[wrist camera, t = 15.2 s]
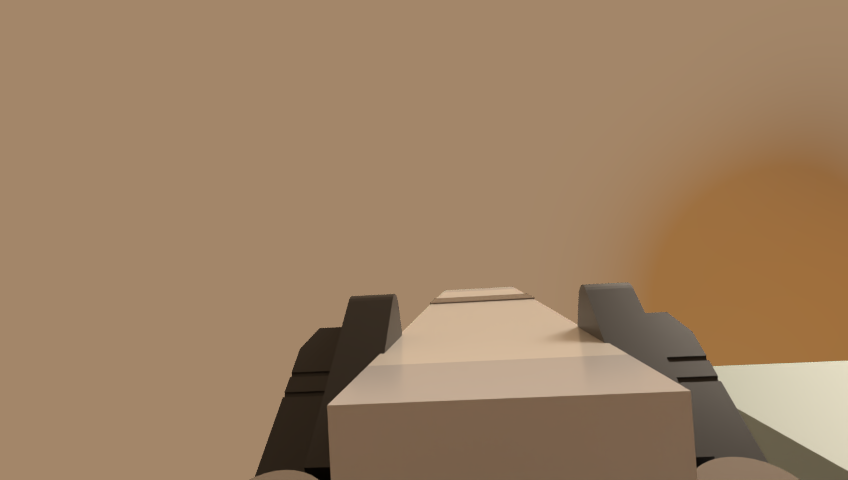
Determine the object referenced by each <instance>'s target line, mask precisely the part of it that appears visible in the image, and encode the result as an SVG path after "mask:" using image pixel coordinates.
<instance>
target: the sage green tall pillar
mask: <svg viewBox="0 0 848 480" xmlns="http://www.w3.org/2000/svg"><path fill="white" fill-rule="evenodd" d="M713 368H714V370H715V372H716V373H717V375H718V381H721V382H722V384H723V385H724V387H725V389H726V391H727V392H728V394H729V396H730V398H731V399H732V401H733V403H734V404H735V406H736V408H737V410H738V411H739V413H740V415H741V416H742V418H743V420H744V422H745V423H746V425H747V427H748V429H749V430H750V432H751V434H752V435H753V437H754V439H755V441H756V442H757V444H758V446H759V447H760V449H761V451H762V453H763V454H764V456H765V458H766V460H767V461H768V463H769V464H772V465H774V466H777V467H779V468H781V469H783V470H785V471H787V472H789V473H791V474H792V475H794V476H795V477H797V478H798V479H800V480H848V361H831V362H807V363H783V364H760V365H734V366H713Z"/></svg>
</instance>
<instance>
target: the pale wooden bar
mask: <svg viewBox="0 0 848 480" xmlns="http://www.w3.org/2000/svg"><path fill="white" fill-rule="evenodd" d="M327 413H328V433H329V453H330V473H331V480H697V467H696V454H695V440H694V427H693V414H692V401H691V391H690V390H688V389H687V388H685V387H683V386H681V385H680V384H678V383H676V382H675V381H673V380H671V379H670V378H668V377H666V376H664V375H663V374H661V373H659V372H658V371H656V370H654V369H652V368H651V367H649V366H647V365H646V364H644V363H642V362H640V361H639V360H637V359H635V358H634V357H632V356H630V355H628V354H627V353H625V352H623V351H622V350H620V349H618V348H617V347H615V346H613V345H611V344H610V343H604V342H602V341H600V340H599V339H597V338H595V337H594V336H592V335H590V334H589V333H587V332H585V331H584V330H582V329H581V328H579V327H578V325H577V324H576V323H574V322H572V321H570V320H569V319H567V318H565V317H563V316H562V315H560V314H558V313H557V312H555V311H553V310H552V309H550V308H548V307H546V306H545V305H543V304H541V303H540V302H537V301H536V300H534V297H532V296H531V295H528V294H524V293H522V292H521V291H519V290H517V289H516V288H514V287H501V288H482V289H463V290H445V291H444V292H443V293H442V294H441V295H440V296H439V297H438V298H435V299H434V300H433V301H432V302H430V306H428V308H426V309H425V311H423V312H422V314H421V315H419V316H418V317H417V318H416V319H415V320H414V321H413V322H412V323H411V324H410V325H409V326H408V327H407V328H406V329H405V330H404V331H403V332H402V336H401V337H400V338H399V339H398V340H397V341H396V342H395V343H394V344H393V345H392V346H391V347H390V348H389V349H388V350H387V351H386V352H385V353H384V354H379V355H378V356H377V357H376V358H375V359H374V360H373V361H372V362H371V363H370V364H369V365H368V366H367V367H366V368H365V369H364V370H363V371H362V372H361V373H360V374H359V375H358V376H357V377H356V378H355V379H354V380H353V381H352V382H351V383H350V384H349V385H348V386H347V387H346V388H345V389H343V390H342V391H341V392H340V393H339V394H338V395H337V396H336V397H335V398H334V399H333V400H332V401H331V402H330V403H329V404H328V405H327Z"/></svg>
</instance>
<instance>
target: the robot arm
mask: <svg viewBox="0 0 848 480" xmlns="http://www.w3.org/2000/svg"><path fill="white" fill-rule="evenodd" d="M578 327H579V328H581V329H582V330H584V331H585V332H587V333H589V334H590V335H592V336H594V337H595V338H597V339H599V340H600V341H602V342H604V343H610V344H611V345H613V346H615V347H617V348H618V349H620V350H622V351H623V352H625V353H627V354H628V355H630V356H632V357H634V358H635V359H637V360H639V361H640V362H642V363H644V364H646V365H647V366H649V367H651V368H652V369H654V370H656V371H658V372H659V373H661V374H663V375H664V376H666V377H668V378H670V379H671V380H673V381H675V382H676V383H678V384H680V385H681V386H683V387H685V388H687V389H688V390H690V391H691V401H692V414H693V427H694V440H695V454H696V467H697V480H800V479H798V478H797V477H795V476H794V475H792V474H791V473H789V472H787V471H785V470H783V469H781V468H779V467H777V466H774V465H772V464H769V463H768V461H767V460H766V458H765V456H764V454H763V453H762V451H761V449H760V447H759V446H758V444H757V442H756V441H755V439H754V437H753V435H752V434H751V432H750V430H749V429H748V427H747V425H746V423H745V422H744V420H743V418H742V416H741V415H740V413H739V411H738V410H737V408H736V406H735V404H734V403H733V401H732V399H731V398H730V396H729V394H728V392H727V391H726V389H725V387H724V385H723V384H722V382H721V381H718V375H717V373H716V372H715V370H714V368H713V366H712V365H711V363H710V361H709V360H706V354H705V353H704V351H703V349H702V348H701V346H700V344H699V342H698V341H697V339H696V337H695V335H694V334H693V332H692V331H691V330H689V329H688V328H687V327H685V326H684V325H683V324H681V323H680V322H679V321H678V320H676V319H675V318H674V317H672V316H671V315H670V314H668V313H667V312H660V313H645V312H644V310H643V308H642V306H641V304H640V302H639V300H638V298H637V296H636V294H635V292H634V289H633V288H632V286H631V284H630V283H608V284H588V285H581V287H580V290H579V304H578ZM401 336H402V330H401V322H400V314H399V307H398V300H397V297H396V295H395V294H387V295H368V296H352V297H350V299H349V303H348V307H347V310H346V314H345V317H344V321H343V325H342V327H336V328H320V329H319V330H318V331H317V332H316V333H315V334H314V335H313V336H312V337H311V338H310V339H309V340H308V341H307V342H306V343H305V344H304V345H303V347H301V349H300V351H299V354H298V356H297V359H296V362H295V365H294V368H293V370H292V377H290V379H289V382H288V385H287V387H286V390H285V397H283V399H282V402H281V404H280V407H279V410H278V413H277V416H276V419H275V421H274V424H273V427H272V430H271V433H270V436H269V438H268V441H267V444H266V447H265V450H264V453H263V455H262V459H261V461H260V464H259V467H258V470H257V472H256V475H255V477H254V478H252V479H250V480H331V473H330V453H329V433H328V413H327V405H328V404H329V403H330V402H331V401H332V400H333V399H334V398H335V397H336V396H337V395H338V394H339V393H340V392H341V391H342V390H343V389H345V388H346V387H347V386H348V385H349V384H350V383H351V382H352V381H353V380H354V379H355V378H356V377H357V376H358V375H359V374H360V373H361V372H362V371H363V370H364V369H365V368H366V367H367V366H368V365H369V364H370V363H371V362H372V361H373V360H374V359H375V358H376V357H377V356H378V355H379V354H384V353H385V352H386V351H387V350H388V349H389V348H390V347H391V346H392V345H393V344H394V343H395V342H396V341H397V340H398V339H399V338H400V337H401Z"/></svg>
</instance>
